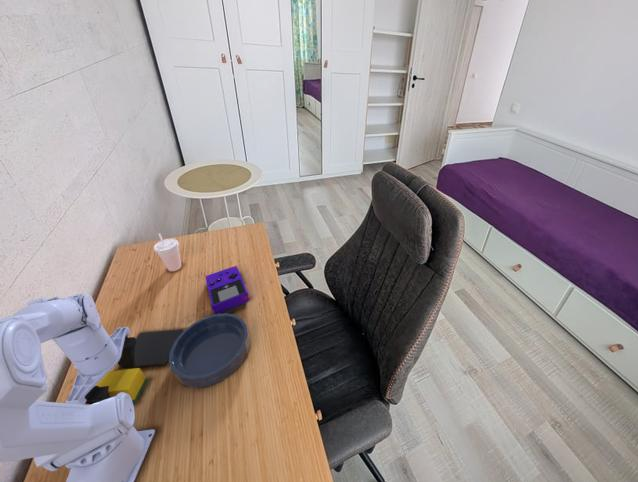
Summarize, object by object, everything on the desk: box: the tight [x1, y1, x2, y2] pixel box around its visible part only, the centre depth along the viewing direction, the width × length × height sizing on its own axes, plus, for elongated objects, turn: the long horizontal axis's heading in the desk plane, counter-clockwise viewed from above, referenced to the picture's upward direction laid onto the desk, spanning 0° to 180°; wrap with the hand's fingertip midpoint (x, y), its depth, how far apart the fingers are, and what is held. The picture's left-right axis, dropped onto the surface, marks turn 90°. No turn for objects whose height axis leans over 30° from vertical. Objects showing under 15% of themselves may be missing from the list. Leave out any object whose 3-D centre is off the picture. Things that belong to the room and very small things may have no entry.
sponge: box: [95, 367, 148, 403], centre depth 60 cm, size 4×7×5 cm, turn 99°
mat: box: [118, 328, 184, 370], centre depth 69 cm, size 9×10×1 cm
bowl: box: [168, 313, 251, 389], centre depth 68 cm, size 16×16×4 cm
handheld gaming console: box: [204, 265, 250, 315], centre depth 84 cm, size 9×5×15 cm
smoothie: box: [153, 232, 182, 272], centre depth 89 cm, size 6×6×14 cm
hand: (118, 385), depth 59 cm, fingers open, 7 cm apart
